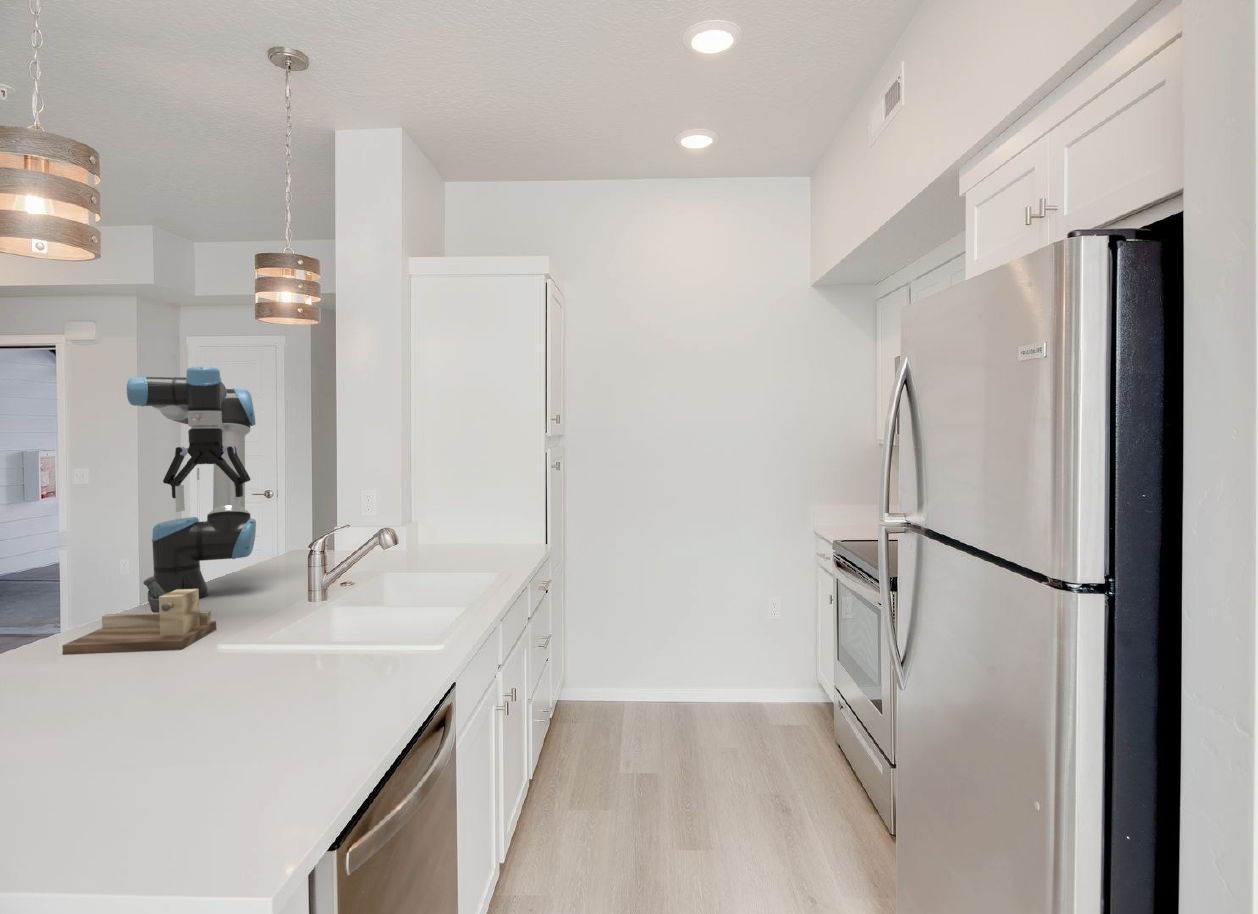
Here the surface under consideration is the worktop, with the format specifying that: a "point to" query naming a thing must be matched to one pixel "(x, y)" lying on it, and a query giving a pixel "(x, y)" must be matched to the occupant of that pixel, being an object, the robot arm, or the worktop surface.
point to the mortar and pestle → (154, 593)
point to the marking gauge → (179, 612)
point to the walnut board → (136, 635)
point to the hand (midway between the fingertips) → (208, 510)
